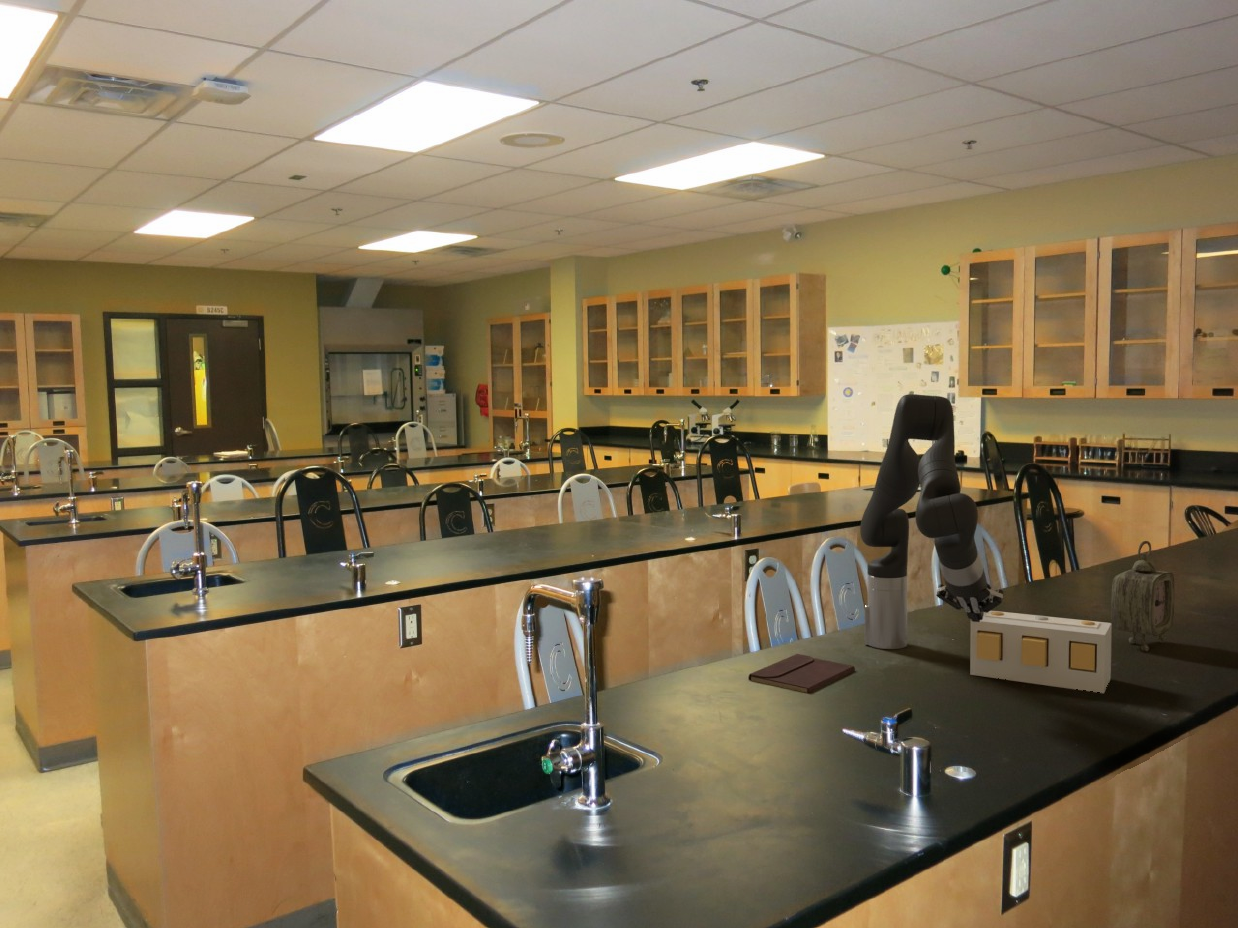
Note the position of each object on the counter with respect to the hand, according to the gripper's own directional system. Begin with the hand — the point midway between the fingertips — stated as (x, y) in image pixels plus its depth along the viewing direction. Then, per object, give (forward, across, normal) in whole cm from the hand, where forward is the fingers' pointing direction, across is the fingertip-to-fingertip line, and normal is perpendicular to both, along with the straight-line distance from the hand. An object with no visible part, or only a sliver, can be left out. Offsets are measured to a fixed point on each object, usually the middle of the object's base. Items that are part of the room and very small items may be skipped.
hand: (976, 617), depth 193 cm
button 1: (+17, 0, -1) cm, 17 cm away
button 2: (+18, -18, -2) cm, 25 cm away
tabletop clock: (+50, -25, -28) cm, 63 cm away
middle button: (+16, -9, -1) cm, 19 cm away
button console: (+24, -9, -2) cm, 26 cm away
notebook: (+8, +35, +15) cm, 39 cm away
